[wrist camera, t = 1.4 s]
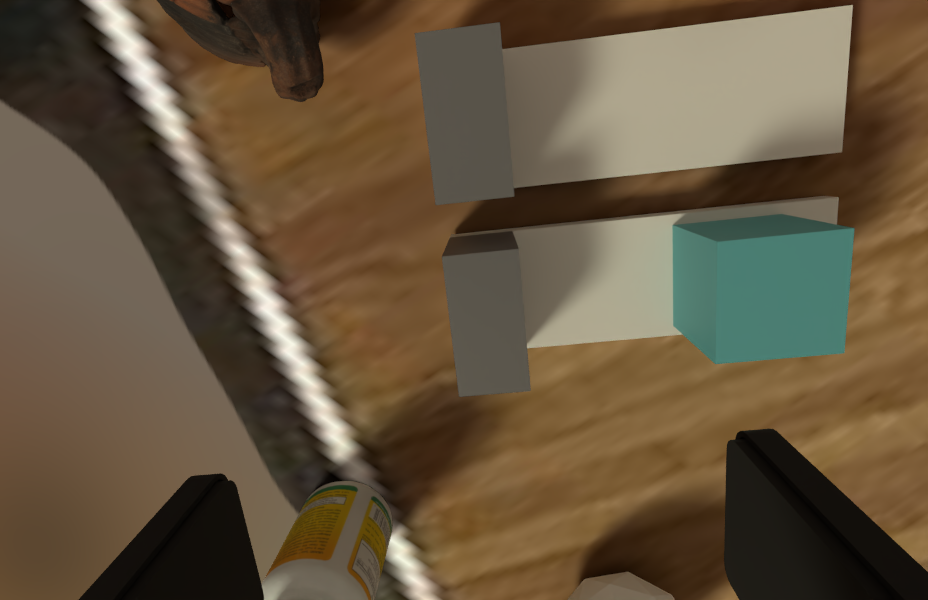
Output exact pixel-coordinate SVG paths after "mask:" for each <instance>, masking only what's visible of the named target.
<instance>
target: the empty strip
mask: <svg viewBox="0 0 928 600" xmlns="http://www.w3.org/2000/svg"><path fill="white" fill-rule="evenodd" d="M852 10H853V5H848V6H840V7H832V8H824V9H817V10H809V11H801V12H793V13H785V14H777V15H769V16H761V17H753V18H745V19H737V20H729V21H721V22H714V23H706V24H698V25H690V26H682V27H674V28H666V29H658V30H650V31H642V32H634V33H626V34H618V35H611V36H603V37H595V38H587V39H579V40H571V41H563V42H555V43H547V44H539V45H531V46H523V47H515V48H508V49H502V41H501V29H500V22H498V23H490V24H483V25H475V26H467V27H460V28H452V29H444V30H436V31H429V32H421V33H415V39H416V48H417V56H418V64H419V72H420V81H421V89H422V97H423V105H424V113H425V122H426V130H427V138H428V146H429V154H430V163H431V171H432V179H433V187H434V195H435V204H436V205H441V204H450V203H460V202H469V201H478V200H487V199H497V198H506V197H514V188H518V187H528V186H537V185H546V184H555V183H564V182H574V181H583V180H592V179H601V178H610V177H620V176H629V175H638V174H647V173H656V172H665V171H675V170H684V169H693V168H702V167H711V166H721V165H730V164H739V163H748V162H757V161H766V160H776V159H785V158H794V157H803V156H812V155H822V154H831V153H840V152H842V147H843V133H844V120H845V106H846V92H847V78H848V65H849V51H850V37H851V24H852Z"/></svg>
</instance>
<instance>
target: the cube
mask: <svg viewBox="0 0 928 600" xmlns="http://www.w3.org/2000/svg"><path fill="white" fill-rule="evenodd" d="M672 232H673V326H674V327H675V328H676V329H677V330H678V331H680V332H681V333H682V334H683V335H684V336H685V337H686V338H687V339H688V340H690V341H691V342H692V343H693V344H694V345H695V346H696V347H697V348H698V349H699V350H701V351H702V352H703V353H704V354H705V355H706V356H707V357H708V358H709V359H710V360H712V361H713V362H714V363H715V364H722V363H734V362H746V361H757V360H769V359H781V358H793V357H805V356H816V355H828V354H840V353H844V350H845V337H846V325H847V313H848V301H849V288H850V276H851V264H852V252H853V239H854V228H851V227H846V226H841V225H836V224H831V223H826V222H821V221H816V220H811V219H806V218H800V217H795V216H790V215H785V214H776V215H766V216H756V217H747V218H737V219H727V220H717V221H708V222H698V223H688V224H678V225H672Z"/></svg>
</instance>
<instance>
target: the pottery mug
mask: <svg viewBox="0 0 928 600" xmlns="http://www.w3.org/2000/svg"><path fill="white" fill-rule="evenodd" d="M157 1H158V2H159V3H160V5H161V6H162V8H163V9H164V10H165V12H166V13H167V14H168V15H169V16H171V17H172V18H173V19H174V20H175V21H176V22H177V23H178V24H179V25H180V26H181V27H182V28H183V29H184V31H185V32H186V33H187V34H188V35H189V36H190V37H191V38H192V39H193V40H194V41H196V42H197V43H198V44H199V45H200V46H201V47H203V48H204V49H206V50H207V51H209V52H211V53H212V54H214V55H216V56H218V57H220V58H222V59H224V60H227V61H229V62H232V63H237V64H243V65H248V66H256V67H264V66H265V65H267V66H268V67H269V68H270V72H271V77H272V82H273V85H274V88H275V90H276V92H277V94H278V95H279V96H280V97H281V98H284V99H291V100H294V101H298V102H303V101H305V100H307V99H308V98H313V97H315V96H316V95H317V93H318V90H319V89H320V88H321V87H322V84H323V80H324V79H323V77H324V76H323V62H322V57H321V52H320V48H319V44H318V43H319V39H320V34H319V31H318V29H319V28H318V25H317V22H318V21H319V20H320V9H319V7H320V0H217V1H219V2H221V3H223V4H226V5H230V6H231V7H232V10H233V13H234V14H235V17H232V18H231V19H229V18H227V17H226V16H225V13H224V12H223V10H222V9H221V8H220V6H219V4H218V3H217V2H216V0H157Z"/></svg>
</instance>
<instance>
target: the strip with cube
mask: <svg viewBox="0 0 928 600" xmlns="http://www.w3.org/2000/svg"><path fill="white" fill-rule="evenodd" d="M838 202H839V197H833V196H817V197H807V198H798V199H788V200H778V201H769V202H759V203H750V204H740V205H730V206H721V207H711V208H701V209H692V210H682V211H673V212H663V213H653V214H644V215H634V216H624V217H615V218H605V219H596V220H586V221H576V222H567V223H557V224H547V225H538V226H528V227H519V228H509V229H499V230H490V231H480V232H470V233H461V234H451V237H450V239H449V241H448V244H447V246H446V248H445V251H444V253H443V255H442V261H443V269H444V278H445V286H446V294H447V302H448V310H449V319H450V327H451V335H452V343H453V351H454V360H455V368H456V376H457V384H458V392H459V397H464V396H476V395H488V394H500V393H512V392H524V391H531V389H530V377H529V365H528V353H527V348H535V347H546V346H558V345H569V344H580V343H591V342H603V341H614V340H625V339H636V338H648V337H659V336H670V335H681V334H682V333H681V332H680V331H678V330H677V329H676V328H675V327H674V326H673V232H672V225H678V224H688V223H698V222H708V221H717V220H727V219H737V218H747V217H756V216H766V215H776V214H785V215H790V216H795V217H800V218H806V219H811V220H816V221H821V222H826V223H831V224H836V225H837V215H838Z"/></svg>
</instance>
